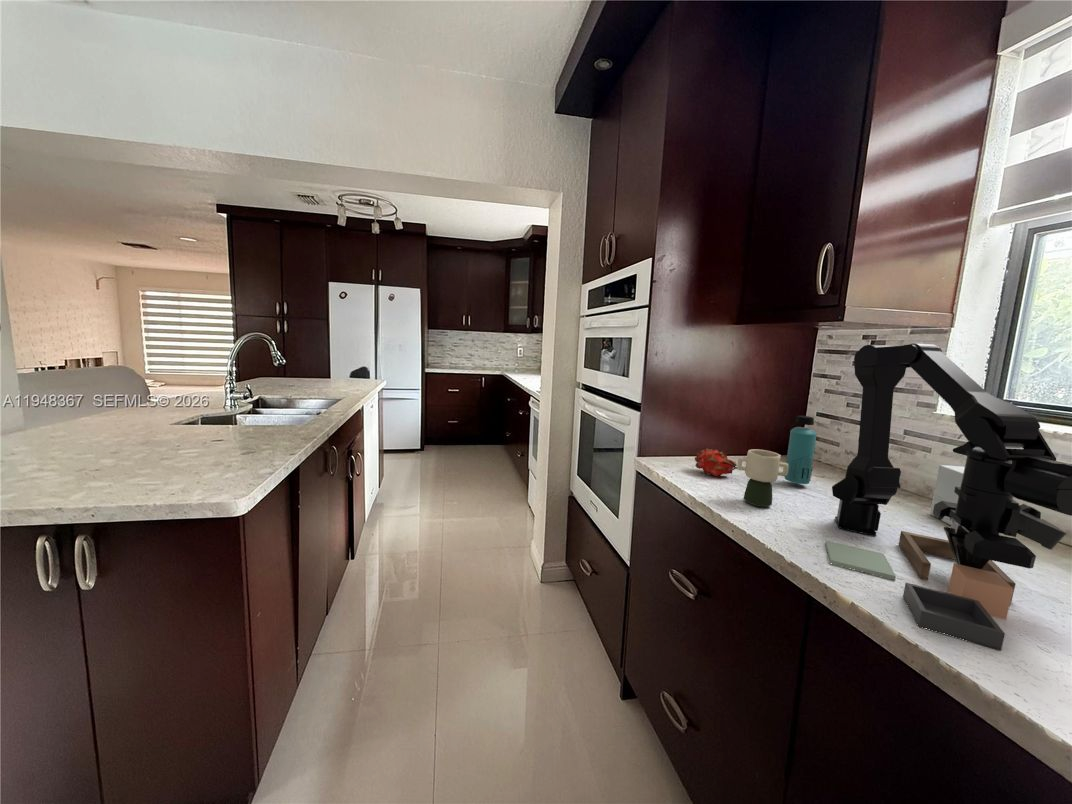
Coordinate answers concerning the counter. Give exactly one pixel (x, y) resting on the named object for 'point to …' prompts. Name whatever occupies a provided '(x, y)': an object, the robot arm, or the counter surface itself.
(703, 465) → the dragon fruit
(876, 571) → the mat
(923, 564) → the stall
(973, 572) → the block
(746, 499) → the character mug
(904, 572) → the counter surface
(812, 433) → the beverage bottle
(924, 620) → the tray
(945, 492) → the supplement box
